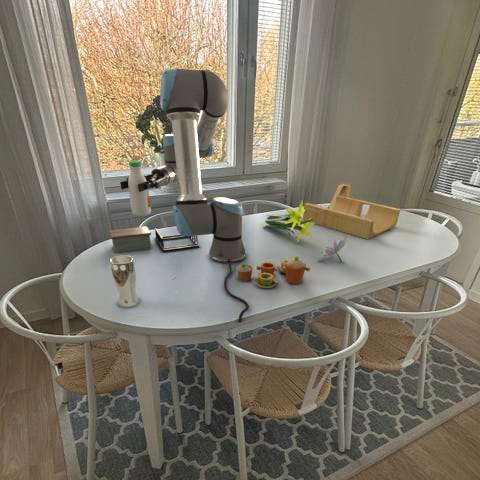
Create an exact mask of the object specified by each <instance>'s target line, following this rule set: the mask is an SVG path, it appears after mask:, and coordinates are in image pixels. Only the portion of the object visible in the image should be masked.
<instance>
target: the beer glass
mask: <svg viewBox="0 0 480 480" xmlns="http://www.w3.org/2000/svg"><path fill="white" fill-rule="evenodd" d="M109 262H110V263H109V264H110V272H111V275H112V279H113V282H114V285H115V288H116V290H117V293H118V304H119V306H120V307H123V308H132V307H134V306H137V305H138V304H139V302H140V301H139V297H138V295H137V289H136V287H137V272H136V271H137V270H136V267H135V263H134V258H133V257H132V256H130V255H128V254H122V255H115V256H113V257H112V258H110V260H109Z"/></svg>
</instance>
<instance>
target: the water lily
mask: <svg viewBox="0 0 480 480" xmlns="http://www.w3.org/2000/svg"><path fill="white" fill-rule="evenodd" d="M347 238H348V235H346V236H345V237H344V238H343V239H339V241H338V240H337V239H334V241H333V246H325V247H324V249H322V251H323V252H322V254H323V255H321V256H320V257H321V259H319V262H322V261H325V260H327V259H330V258H331V257H332V256H335V255H336V256H337V257H338V260H339V262H340V263H343V260H342V258H341V256H340V254H339V253H338V252H339V251H341V250H342V249H343V248H344V247H345V245H346V244H347V242H348V241H347Z"/></svg>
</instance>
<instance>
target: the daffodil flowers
mask: <svg viewBox="0 0 480 480" xmlns="http://www.w3.org/2000/svg"><path fill="white" fill-rule="evenodd" d="M303 201H304V200H301V201H300V203H299V205H298V207H297V210H296V211H295V210H293V209H291V208H285V210H286V212H287V213H286V214H266V215H265V216H266V219H265V220H264V222H265V224H267V225H264V226H263V225H262V227H263V229H279V230H281V231H285V232H287V233H288V235H289V237H290V238H291V233H292V234H294V235H296V233H295V232H294V231H293V230H295V231H298V233H297V243H299V241H300V239H301V236H302V235H304V236H305V237H311V232H310V230H308V228H309V227H311V226H313V225H315V224H316V223H315V222H313V223H312V222H310V221H312V220H313V219H309V220H307V221H306V220H303V221H302V217H303V214H304V213H306V212H305V209H304V202H303Z"/></svg>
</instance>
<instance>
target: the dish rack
mask: <svg viewBox="0 0 480 480" xmlns="http://www.w3.org/2000/svg"><path fill="white" fill-rule="evenodd" d="M154 233H155V237H154V240H155V241H156V243H157V245H158V246H159V248H160V249H161V251H162V253H169V252H176V251H182V250H183V251H184V250H190V249H198V248H200V245H199V240H198V237H199V236H198V235H196V236H182V235H180V234H179V233H178V234H177V233H176V234H170V235H161V233H160V232H159V230H158V228H157V227H156V228H155V227H154ZM187 238H188V239H190V241H191V242H192V243H190V244H184V245H183V244H182V245H181V244H180V245H175V246H167V247H165V244H164V241H170V240H179V239H187Z"/></svg>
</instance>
